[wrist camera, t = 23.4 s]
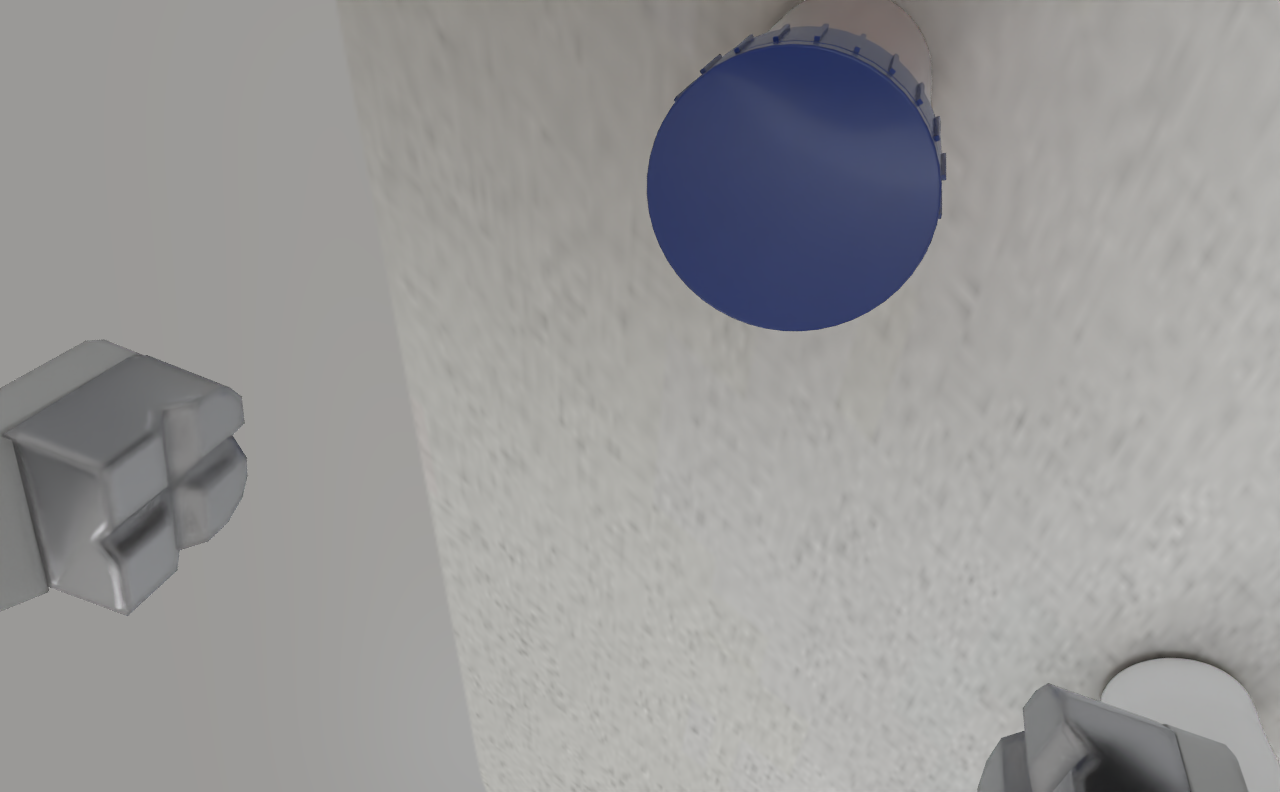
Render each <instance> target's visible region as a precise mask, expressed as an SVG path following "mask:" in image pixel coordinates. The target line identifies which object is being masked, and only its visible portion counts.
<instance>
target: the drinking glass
mask: <svg viewBox="0 0 1280 792" xmlns="http://www.w3.org/2000/svg"><path fill="white" fill-rule="evenodd" d="M1100 702H1103V703H1106V704H1109V705H1112V706H1114V707H1117V708H1120V709H1123V710H1126V711H1129V712H1131V713H1134V714H1137V715H1140V716H1143V717H1146V718H1148V719H1151V720H1154V721H1157V722H1158V723H1160V724H1168V725H1170V726H1173V727H1176V728H1179V729H1182V730H1185V731H1188V732H1191V733H1194V734H1197V735H1199V736H1202V737H1205V738H1208V739H1211V740H1214V741H1217V742H1220V743H1223V744H1225V745H1226V746H1227V747H1228V748H1229V749H1230V750H1231V751H1232V753H1233V754H1234V755H1235V756H1236V758H1237V760H1238V762H1239V765H1240V768H1241V771H1242V774H1243V777H1244V780H1245V783H1246V786H1247V789H1248V792H1280V764H1279V762H1278V760H1277V758H1276V756H1275V754H1274V751H1273V749H1272V747H1271V745H1270V743H1269V741H1268V739H1267V737H1266V734H1265V732H1264V729H1263V726H1262V724H1261V721H1260V718H1259V716H1258V713H1257V710H1256V708H1255V705H1254V703H1253V701H1252V699H1251V697H1250V695H1249V694H1248V692H1247V691H1246V690H1245V688H1244V687H1243V686H1242V685H1241V684H1240V683H1239V682H1238V681H1237V680H1236V679H1235V678H1233V677H1232V676H1231V675H1229V674H1228V673H1226V672H1224V671H1222V670H1221V669H1219V668H1217V667H1214V666H1212V665H1209V664H1206V663H1203V662H1200V661H1195V660H1190V659H1183V658H1159V659H1152V660H1147V661H1143V662H1140V663H1137V664H1134V665H1132V666H1130V667H1128V668H1126V669H1124V670H1123V671H1121V672H1120V673H1118V674H1117V675H1116V676H1115V677H1113V678H1112V679H1111V681H1110V682H1109V683H1108V684H1107V686H1106V687H1105V689H1104V691H1103V693H1102V697H1101V701H1100Z"/></svg>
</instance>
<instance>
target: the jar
mask: <svg viewBox="0 0 1280 792" xmlns="http://www.w3.org/2000/svg"><path fill="white" fill-rule="evenodd" d="M824 23H826V24H829V27H828V28H833V29H838V30H843V31H847V32H850V33H853V34H855V35H858V36H861V34H862V33H863V34H866V35H867V36H866V38H865V39H867V40H869V41H871V42H873V43H875V44H877V45H879V46H880V47H882V48H883V49H885V50H886V51H887V52H889V53H890V54H892V55H894V54H895V53H896V54H898V55H899V61H900V62H901V63H902V64H903V65H904V66H905V67H906V68H907V69H908V70H909V71H910V73H911V74H912V75H913V76H914V78H915V79H916V80H917V82H918V83H921V82H923V83H924V85H925V90H924V93H925V94H926V96H927V98H928V100H929V102H930V104H931V92H932V63H931V57H930V53H929V49H928V46H927V43H926V41H925V38H924V36H923V34H922V32H921V31H920V29H919V27H918V26H917V24H916V23H915V22H914V20H913V19H912V18H911V17H910V16H909V15H908V14H907V13H906V12H905V11H904V10H903V9H902V8H901V7H899V6H898V5H897V4H895V3H894V2H892V1H890V0H805V1H803V2H801V3H799V4H798V5H797V6H795V7H794V8H792V9H791V10H790V11H789V12H788V13H786V14H785V15H784V16H783V17H782V18H781V19H780V20H779V21H778V22H777V23H776V24H775V25H774V26H773V27H772V28H771V29H770V30H769V31H768V32H770V31H775V30H779V29H781V28H782V27H783V26H784V25H785V24H790V27H801V26H817V27H822V25H823V24H824ZM768 32H766V33H768Z"/></svg>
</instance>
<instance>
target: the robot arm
mask: <svg viewBox="0 0 1280 792" xmlns="http://www.w3.org/2000/svg"><path fill="white" fill-rule="evenodd" d="M243 424H244V413H243V405H242V396H240V395H239V394H238V393H236V392H235V391H234V390H232V389H231V388H229V387H227V386H224V385H222V384H220V383H217V382H214V381H212V380H209V379H207V378H204V377H202V376H199V375H196V374H194V373H191V372H189V371H186V370H184V369H181V368H178V367H176V366H173V365H171V364H168V363H166V362H163V361H161V360H158V359H156V358H153V357H150V356H148V355H142V354H139V353H137V352H134V351H132V350H129V349H127V348H124V347H122V346H119V345H117V344H114V343H112V342H109V341H107V340H92V341H84V342H83V343H81V344H79V345H77V346H75V347H74V348H72V349H70V350H68V351H66V352H65V353H63V354H61V355H59V356H57V357H56V358H54V359H52V360H50V361H49V362H47V363H45V364H43V365H41V366H39V367H38V368H36V369H34V370H32V371H30V372H29V373H27V374H25V375H23V376H21V377H19V378H18V379H16V380H14V381H12V382H11V383H9V384H7V385H5V386H3V387H2V388H0V611H3V610H5V609H8V608H10V607H13V606H15V605H18V604H20V603H23V602H25V601H28V600H30V599H33V598H35V597H37V596H40V595H42V594H45V593H47V592H48V591H49V588H48V587H50V588H53V589H56V590H59V591H61V592H64V593H67V594H69V595H72V596H75V597H77V598H80V599H83V600H86V601H88V602H91V603H94V604H96V605H99V606H102V607H104V608H107V609H110V610H112V611H115V612H118V613H121V614H123V615H126V616H128V615H129V614H130V613H131V612H132V611H133V610H135V609H136V608H137V607H138V606H139V605H140V604H141V603H142V602H143V601H145V600H146V599H147V598H148V597H149V596H150V595H151V594H152V593H153V592H154V591H155V590H156V589H157V588H159V587H160V586H161V585H162V584H163V583H164V582H165V581H166V580H167V579H168V578H169V577H171V576H172V575H173V574H174V573H175V572H176V571H177V568H178V560H179V551H180V550H182V549H185V548H188V547H191V546H195V545H198V544H201V543H204V542H207V541H209V540H210V539H211V538H212V537H213V536H214V535H215V534H217V533H218V531H220V529H222V528H223V527H224V525H226V524H227V523H228V522H229V520H230V518H231V516H232V514H233V513H234V511H235V509H236V508H237V506H238V504H239V502H240V501H241V499H242V497H243V493H244V489H245V484H246V480H247V457H246V456H245V454H244V453H243V451H242V450H241V448H240V446H239V445H238V443H237V442H236V440H235V439H234V437H233V436H232V435H233V434H234V433H235V432H236V431H237V430H238V429H239V428H240V427H241V426H242V425H243ZM1023 716H1024V728H1025V731H1022V732H1019V733H1016V734H1013V735H1010V736H1007V737H1003V738H1001V740H1000V741H999V743H998V744H997V746H996V747H995V749H994V750H993V752H992V753H991V755H990V757H989V758H988V760H987V761H986V764H985V767H984V770H983V773H982V776H981V779H980V783H979V786H978V789H977V792H1248V789H1247V786H1246V783H1245V780H1244V777H1243V774H1242V771H1241V768H1240V765H1239V762H1238V760H1237V758H1236V756H1235V755H1234V754H1233V753H1232V751H1231V750H1230V749H1229V748H1228V747H1227V746H1226V745H1225V744H1223V743H1220V742H1217V741H1214V740H1211V739H1208V738H1205V737H1202V736H1199V735H1197V734H1194V733H1191V732H1188V731H1185V730H1182V729H1179V728H1176V727H1173V726H1170V725H1168V724H1160V723H1158V722H1157V721H1154V720H1151V719H1148V718H1146V717H1143V716H1140V715H1137V714H1134V713H1131V712H1129V711H1126V710H1123V709H1120V708H1117V707H1114V706H1112V705H1109V704H1106V703H1103V702H1100V701H1097V700H1095V699H1092V698H1089V697H1086V696H1083V695H1080V694H1078V693H1075V692H1072V691H1069V690H1066V689H1063V688H1061V687H1058V686H1055V685H1052V684H1049V683H1048V684H1046V685H1044V686H1043V687H1041V688H1040V689H1038V690H1036V691H1035V693H1034V694H1033V695H1032V697H1031V698H1030V699H1029V701H1028V702H1027V703H1026V705H1025V706H1024V707H1023Z"/></svg>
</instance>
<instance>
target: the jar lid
mask: <svg viewBox="0 0 1280 792" xmlns="http://www.w3.org/2000/svg"><path fill="white" fill-rule="evenodd" d="M828 27H829V24H826V23H824V24H823V25H822V27H817V26H801V27H790V24H785V25H784V26H783V27H782V28H781V29H779V30H775V31H770V32H768V33H765V34H762V35H759V36H757V37H754V36H753V34H752V35H749V36H748V37H747V38H745V39H744V40H743V41H742V42H741V43H740V44H739V45H738V46H736V47H735V48H734V49H732V50H731V51H730V52H728V53H727V54H726V55H724V56H723V57H722V55H721V54H719V55H718V56H717V57H715V58H714V59H713V60H712V61H711V62H710V63H708V64H707V65H706V66H705V67H704V68H703V69H701V70H700V72H701V74H702V75H701V76H700V77H699V78H697V79H696V80H695V81H693V82H692V83H691V84H690V85H689V86H688V87H687V88H685V89H684V90H683V91H682V92H681V93H680V94H679V95H677V96H676V98H675V99H674V101H675V103H674V104H673V106H672V107H671V109H670V110H669V112H668V114H667V115H666V117H665V119H664V120H663V122H662V124H661V127H660V129H659V130H658V133H657V136H656V138H655V141H654V144H653V148H652V151H651V155H650V159H649V166H648V173H647V199H648V208H649V214H650V218H651V222H652V226H653V230H654V232H655V235H656V238H657V240H658V243H659V245H660V247H661V249H662V251H663V253H664V255H665V257H666V259H667V261H668V262H669V263H670V265H671V266H672V268H673V269H674V271H675V272H676V274H677V275H678V276H679V277H680V278H681V279H682V281H683V282H684V283H685V284H686V285H687V286H688V287H689V288H690V289H691V290H692V291H693V292H694V293H695V294H696V295H698V296H699V297H700V298H701V299H702V300H704V301H705V302H706V303H708V304H709V305H711V306H712V307H714V308H715V309H717V310H718V311H720V312H722V313H724V314H726V315H728V316H730V317H732V318H734V319H737V320H739V321H742V322H744V323H747V324H750V325H754V326H758V327H762V328H766V329H773V330H780V331H808V330H818V329H823V328H827V327H832V326H836V325H839V324H842V323H845V322H848V321H850V320H853V319H855V318H857V317H859V316H861V315H863V314H865V313H867V312H869V311H871V310H873V309H874V308H876V307H877V306H879V305H880V304H882V303H883V302H885V301H886V300H887V299H888V298H889V297H891V296H892V295H893V294H894V293H895V292H896V291H897V290H899V289H900V288H901V286H902V285H903V284H904V283H905V282H906V281H907V280H908V279H909V278H910V276H911V275H912V274H913V272H914V271H915V269H916V268H917V267H918V265H919V264H920V262H921V261H922V259H923V257H924V255H925V254H926V252H927V249H928V247H929V245H930V243H931V241H932V238H933V235H934V232H935V229H936V226H937V222H938V219H941V216H942V180H946V153H942V150H941V138H940V131H941V120H940V116H937V117H935V114H934V112H933V109H932V107H931V104H930V102H929V100H928V98H927V96H926V94H925V93H924V90H925V85H924V83H923V82H921V83H918V82H917V80H916V79H915V78H914V76H913V75H912V74H911V73H910V71H909V70H908V69H907V68H906V67H905V66H904V65H903V64H902V63H901V62H900V61H899V55H898V54H896V53H895V54H894V55H892V54H890V53H889V52H887V51H886V50H885V49H883V48H882V47H880V46H879V45H877V44H875V43H873V42H871V41H869V40H867V39H865V38H866V36H867V35H866V34H863V33H862V34H861V36H858V35H855V34H853V33H850V32H847V31H843V30H838V29H833V28H828Z"/></svg>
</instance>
